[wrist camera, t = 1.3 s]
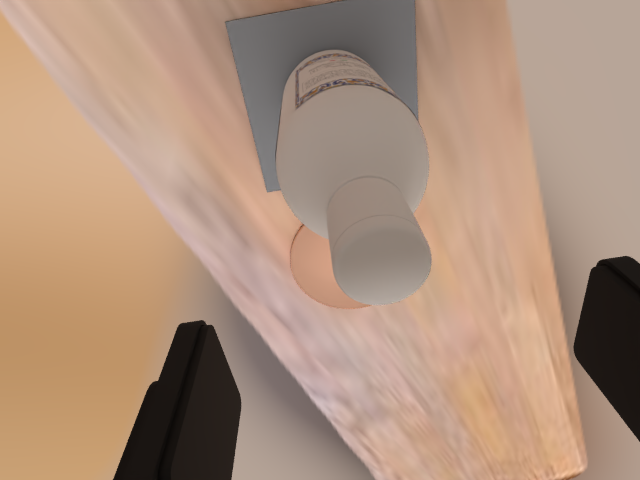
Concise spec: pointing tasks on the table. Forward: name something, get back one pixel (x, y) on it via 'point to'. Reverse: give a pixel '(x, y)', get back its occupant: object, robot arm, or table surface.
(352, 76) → the bath foam
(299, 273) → the flat salmon disc
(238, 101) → the table surface
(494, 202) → the table surface
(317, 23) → the tile
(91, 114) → the table surface
